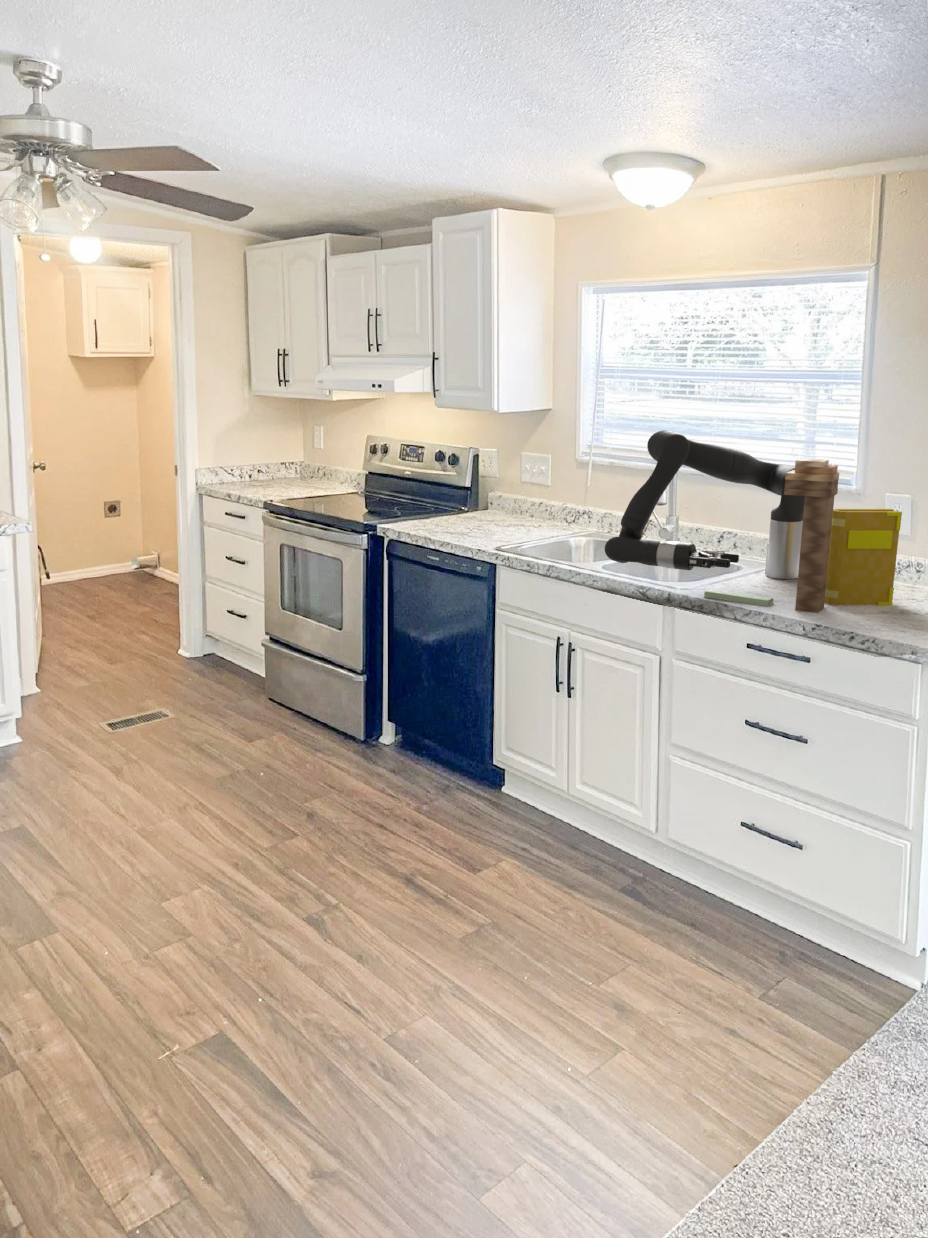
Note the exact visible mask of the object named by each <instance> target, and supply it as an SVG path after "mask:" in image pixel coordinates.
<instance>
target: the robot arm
mask: <svg viewBox="0 0 928 1238" xmlns="http://www.w3.org/2000/svg"><path fill="white" fill-rule="evenodd" d="M646 446H647V452H648V455H649V456H650V457H651V458H652V460H655V461H656V465H655V467H654V469H653V471H652V473H651V475H650V476H649V478H648V479H647V480H646V481H645V482H644V483H643V485H642V486H641V487H640V488H639V489H638V490H636V492H635V493H634V495H633V497H632V498H631V499H630V501H629V502H628V505H627V507H626V509H625V511H624V513H623V515H622V518H621V520H620V526H621V529H620V532H619V535H618V536H613V537H611V538H609V539H608V540H607V541H606V543H605V544H604V552H605V555H606V557H607V558H608V559H610V560H611V561H614V562H616V563H620V564H627V563H636V564H637V563H638V564H641V565H647V566H654V567H660V568H665V569H673V570H682V571H692V570H693V569H694V567H697V568H706V569H711V568H716V567H717V568H725V569H727V568H728V569H729V568H730V567H731V563H735V564H737V563H739V561H740V560H739V559H740V555H739V554H737V553H726V551H725V550H717V549H716V550H715V549H707V548H705V549H701V550H698V551H697V548H696V546H697V545H696V544H695V543H693V542H692V543H691V542H682V541H673V540H672V541H669V540H668V541H664V540H663V541H661V540H651V539H648V540H645V539H642V537H643V533H644V530H645V529H646V525H647V524H648V522H649V520H650V518H651V516H652V514H653V512H654V510H655V508H656V506H657V504H658V502H659V500H660V499H661V497H662V495H663V494H664V493H665V492H666V491H665V490H666V489H667V487H668V486H669V485H670V483H671V482H672V480H673V479H674V477H675V476H676V474H677V473H678V471H679V470H680V469H681V468H682V466H684V467H685V466H686V467H689V468H691V469H693V470H695V471H698V472H700V473H702V474H705V475H707V476H710V477H713V478H716V479H717V480H722V481H725V482H730V483H734V484H742V485H751V486H755V487H758V488H761V489H763V490H766V491H768V492H770V493H773V494H775V495H776V496H780V502H779V505H778V506H777V507H776V508H775V507H774V508H773V509H771V512H770V523H769V536H768V537H769V538H768V543H767V544H766V555H765V558H766V559H765V572H764V574H765V575H766V577H769V578H772V579H778V580H793V579H794V580H795V579H798V570H799V558H800V547H801V535H802V523H803V511H804V499H805V496H797V495H784V489H785V480H786V479H785V475H786V473H787V472H789V471H792V470H795V465H790V464H781V463H780V464H779V463H772V462H767V461H763V460H759V459H757V458H756V457H755V456H752V455H751V454H748V453H747V452H744V451H741V450H739V449H736V448H731V447H729V446H723V445H719V444H711V443H707V442H705V443H704V442H700V441H695V440H691V439H688V438H687V437H686V436H685V435H683V434H681V433H679V432H675V431H672V430H667V429H666V430H665V429H664V430H659V431H657V432H655V433H653V434H652V435H651V436H650V437H649V439H648V440H647V444H646ZM718 556H719V557H718Z"/></svg>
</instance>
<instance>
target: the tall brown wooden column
mask: <svg viewBox="0 0 928 1238" xmlns="http://www.w3.org/2000/svg"><path fill="white" fill-rule="evenodd" d="M829 462H830V461H829V459H816V458H814V459H813V458H798V459H796V460H795V461H794V466H795V470H792V471H789V472H787V473H786V475H785V479H786V480H785V489H784V495H797V496H805V499H804V511H803V523H802V535H801V547H800V558H799V570H798V578H797V584H796V595H795V596H796V597H795V598H796V599H795V607H794V610H795V611H798V612H806V613H814V614H816V613H817V614H820V613H821V612H822V611H823V609H825V606H826V605H825V604H826V603H825V594H826V583H827V572H828V561H829V550H830V539H831V528H832V517H833V509H834V505H835V502H834V501H835V496H836V495H838V494H839V493H838V491H839V489H838V486H839V479H840V472H838V467H839V465H838V464H829Z"/></svg>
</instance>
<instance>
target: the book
mask: <svg viewBox="0 0 928 1238" xmlns="http://www.w3.org/2000/svg"><path fill="white" fill-rule="evenodd" d="M902 515H903V512H902V511H900V510H899V511H898V510H895V509H894V508H833V517H832V528H831V539H830V550H829V561H828V572H827V583H826V594H825V604H826V605H832V606H882V607H884V606H887V607H888V606H889V607H890V606H893V597H894V589H895V588H894V582H895V574H896V564H897V563H896V562H897V555H898V544H899V537H900V536H899V535H900V531H901V525H902V523H901V522H902Z"/></svg>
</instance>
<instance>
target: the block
mask: <svg viewBox="0 0 928 1238" xmlns="http://www.w3.org/2000/svg"><path fill="white" fill-rule="evenodd" d="M703 595H704V598H709V599H717V600H725V601H730V602H736V603H744V604H751V605H758V606H765V607H769V606H771V605H773V604H774V597H770V596H763V595H757V594H749V593H741V592H734V591H727V590H721V589H714V588H710V589H708V590H705V591H704V594H703Z"/></svg>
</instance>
